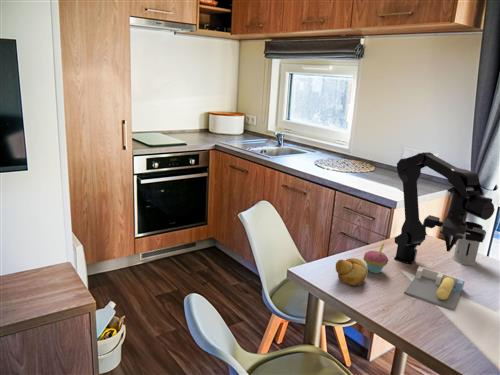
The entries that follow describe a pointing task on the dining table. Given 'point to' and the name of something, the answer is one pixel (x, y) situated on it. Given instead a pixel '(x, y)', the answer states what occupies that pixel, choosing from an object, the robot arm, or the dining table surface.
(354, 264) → the bread roll
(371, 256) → the cupcake
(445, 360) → the dining table surface
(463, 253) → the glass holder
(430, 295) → the capsule display stand
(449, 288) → the yellow pill shape
